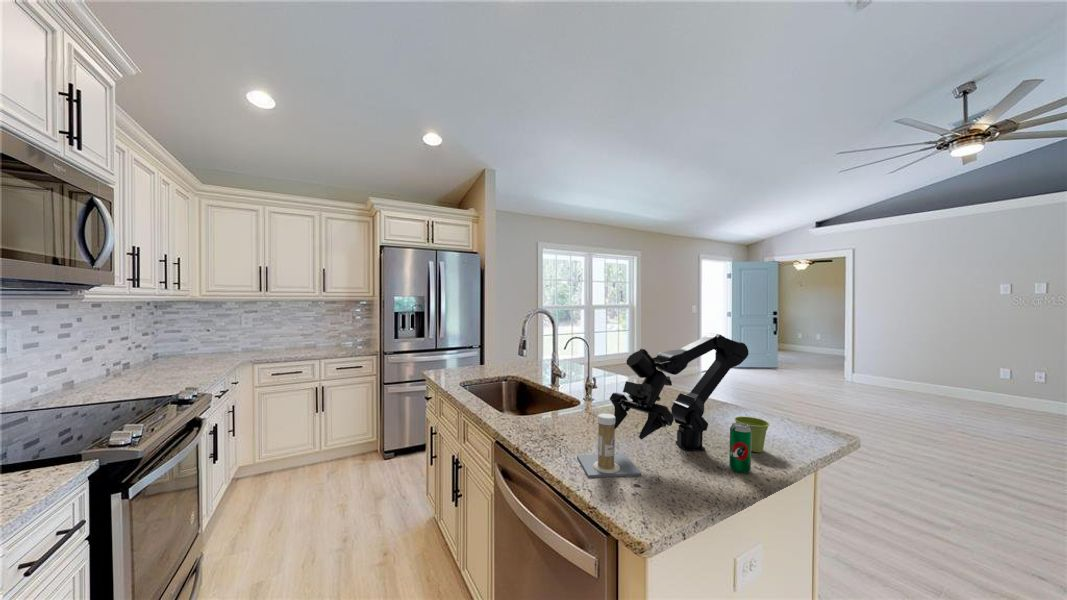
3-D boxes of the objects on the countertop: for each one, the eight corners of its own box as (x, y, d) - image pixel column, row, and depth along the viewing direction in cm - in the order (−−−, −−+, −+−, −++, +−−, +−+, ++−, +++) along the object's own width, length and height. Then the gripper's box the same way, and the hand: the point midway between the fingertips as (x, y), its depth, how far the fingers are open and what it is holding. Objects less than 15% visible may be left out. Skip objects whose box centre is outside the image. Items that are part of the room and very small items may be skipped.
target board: (624, 455, 107) (624, 452, 107) (641, 475, 95) (641, 472, 95) (577, 457, 105) (577, 454, 105) (588, 477, 93) (588, 474, 93)
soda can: (755, 473, 97) (756, 428, 97) (738, 474, 96) (739, 429, 96) (741, 465, 102) (742, 421, 102) (724, 466, 101) (725, 422, 101)
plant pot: (726, 445, 116) (727, 417, 116) (747, 441, 120) (748, 414, 120) (754, 457, 108) (755, 427, 108) (776, 452, 111) (776, 424, 111)
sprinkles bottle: (613, 471, 95) (614, 419, 95) (595, 468, 97) (596, 416, 97) (615, 464, 100) (616, 414, 100) (599, 461, 101) (599, 411, 101)
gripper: (614, 365, 113) (587, 407, 107) (668, 376, 98) (641, 426, 92) (630, 388, 118) (605, 429, 111) (684, 401, 103) (660, 450, 96)
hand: (626, 433), depth 103 cm, fingers open, 9 cm apart
